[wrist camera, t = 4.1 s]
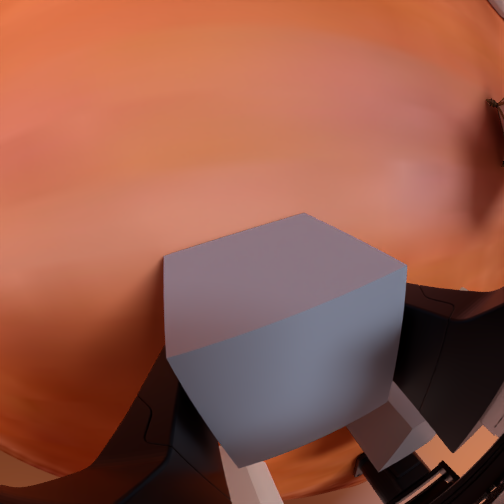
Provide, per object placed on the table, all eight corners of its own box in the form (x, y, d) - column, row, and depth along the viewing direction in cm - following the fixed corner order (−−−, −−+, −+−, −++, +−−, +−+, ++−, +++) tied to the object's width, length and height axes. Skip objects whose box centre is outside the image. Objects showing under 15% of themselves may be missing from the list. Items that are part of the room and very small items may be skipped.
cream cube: (265, 462, 16) (290, 517, 11) (204, 483, 15) (220, 538, 11) (236, 438, 13) (262, 509, 9) (164, 462, 13) (176, 529, 8)
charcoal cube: (394, 399, 18) (430, 440, 13) (342, 421, 16) (378, 472, 12) (417, 351, 16) (464, 393, 11) (363, 372, 15) (412, 428, 10)
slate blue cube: (318, 323, 12) (387, 401, 7) (208, 364, 11) (238, 468, 6) (304, 212, 10) (407, 265, 5) (163, 256, 9) (166, 358, 4)
